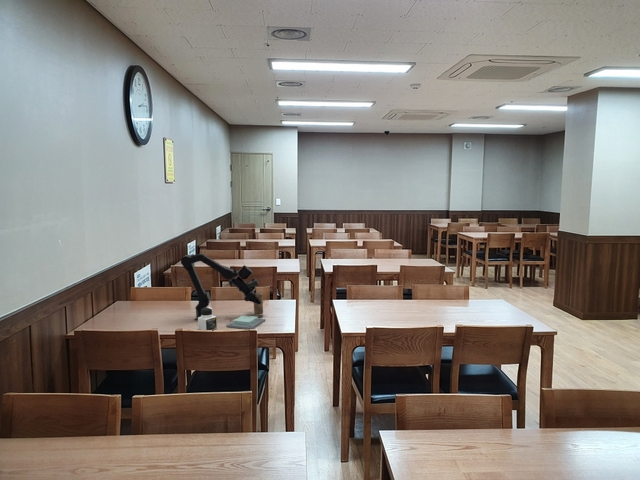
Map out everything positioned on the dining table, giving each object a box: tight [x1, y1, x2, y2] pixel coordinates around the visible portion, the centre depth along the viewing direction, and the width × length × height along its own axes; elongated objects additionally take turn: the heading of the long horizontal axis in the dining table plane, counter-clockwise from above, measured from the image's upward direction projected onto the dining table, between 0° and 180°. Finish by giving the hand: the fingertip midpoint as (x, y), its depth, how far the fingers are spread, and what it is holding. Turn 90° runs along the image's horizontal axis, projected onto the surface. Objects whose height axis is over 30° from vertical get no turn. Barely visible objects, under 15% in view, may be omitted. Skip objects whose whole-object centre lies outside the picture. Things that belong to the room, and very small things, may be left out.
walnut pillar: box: [253, 292, 264, 316], centre depth 262 cm, size 5×5×12 cm
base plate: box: [225, 314, 266, 330], centre depth 248 cm, size 16×16×3 cm
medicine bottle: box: [197, 306, 218, 331], centre depth 240 cm, size 7×7×12 cm
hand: (260, 302), depth 262 cm, fingers closed on walnut pillar, 5 cm apart
